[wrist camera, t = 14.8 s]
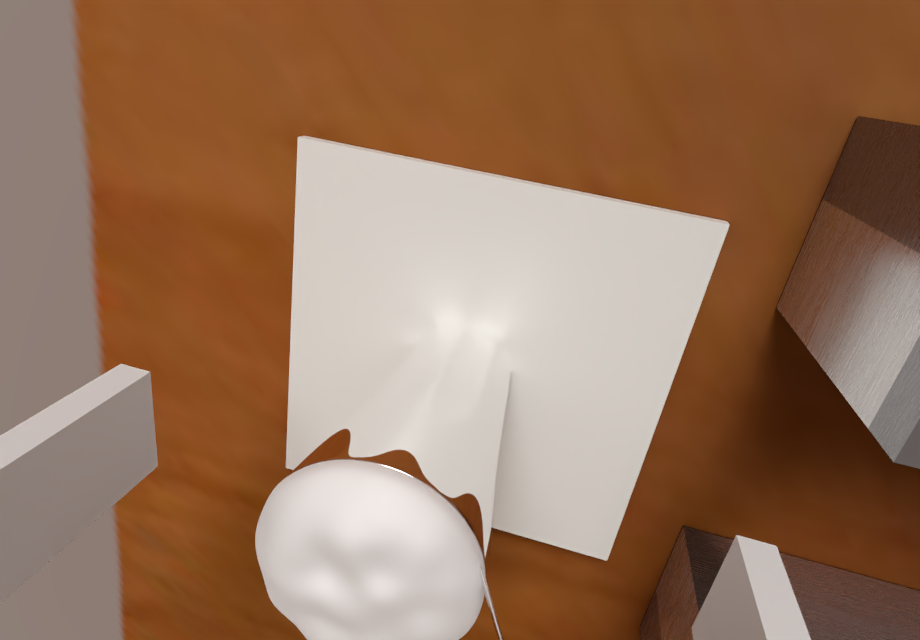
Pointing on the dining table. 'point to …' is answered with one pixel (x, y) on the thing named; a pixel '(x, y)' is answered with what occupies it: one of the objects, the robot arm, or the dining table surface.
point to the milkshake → (395, 503)
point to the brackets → (842, 377)
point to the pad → (498, 317)
